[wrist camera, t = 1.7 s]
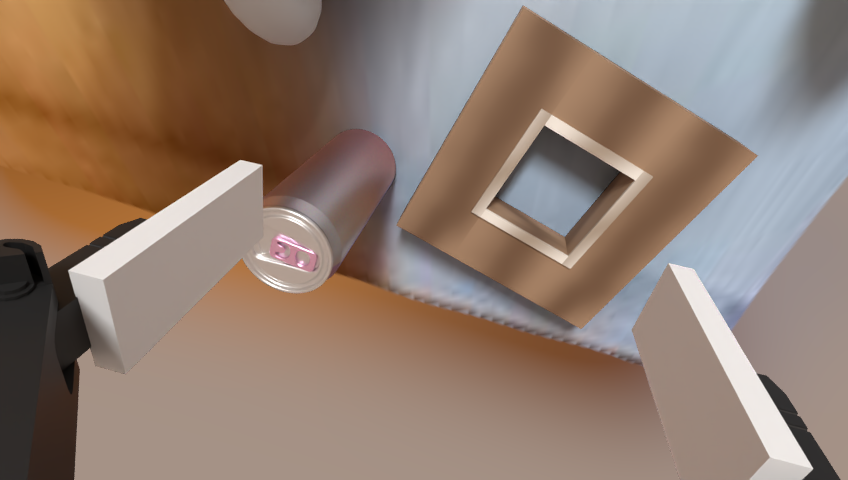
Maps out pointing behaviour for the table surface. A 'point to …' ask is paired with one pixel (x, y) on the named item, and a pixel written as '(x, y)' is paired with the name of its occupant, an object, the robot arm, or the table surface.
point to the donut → (278, 18)
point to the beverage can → (321, 212)
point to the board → (594, 132)
